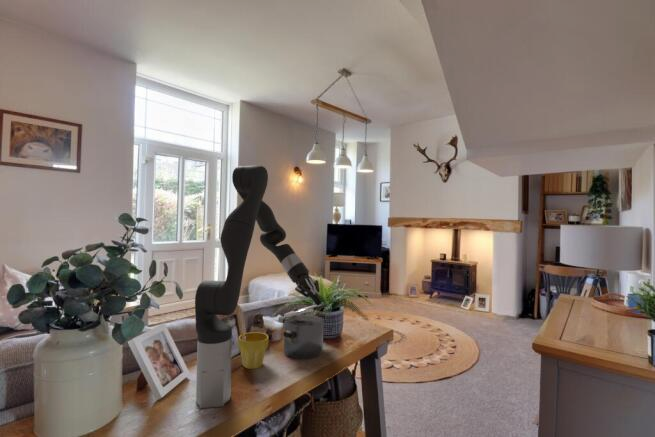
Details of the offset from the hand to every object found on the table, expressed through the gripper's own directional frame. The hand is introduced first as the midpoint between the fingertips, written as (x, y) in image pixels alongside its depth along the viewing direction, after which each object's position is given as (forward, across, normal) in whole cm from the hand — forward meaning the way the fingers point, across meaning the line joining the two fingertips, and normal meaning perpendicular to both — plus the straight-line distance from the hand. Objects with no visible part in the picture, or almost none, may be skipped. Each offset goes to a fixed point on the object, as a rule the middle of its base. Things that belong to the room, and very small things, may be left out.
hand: (320, 303), depth 129 cm
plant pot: (+4, -20, +24) cm, 31 cm away
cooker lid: (-2, 0, +8) cm, 8 cm away
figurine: (-6, -3, +34) cm, 34 cm away
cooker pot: (+9, 0, +19) cm, 21 cm away
